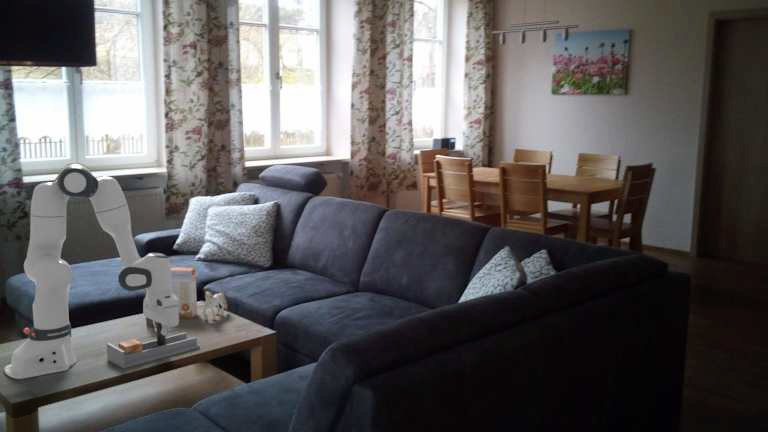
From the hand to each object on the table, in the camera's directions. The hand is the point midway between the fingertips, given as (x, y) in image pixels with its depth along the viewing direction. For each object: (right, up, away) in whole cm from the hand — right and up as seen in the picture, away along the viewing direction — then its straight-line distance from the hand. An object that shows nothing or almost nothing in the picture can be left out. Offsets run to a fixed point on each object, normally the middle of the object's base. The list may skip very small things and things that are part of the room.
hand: (161, 333), depth 258 cm
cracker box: (-6, 0, +44) cm, 45 cm away
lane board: (-2, -7, -1) cm, 8 cm away
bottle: (-13, -2, +32) cm, 34 cm away
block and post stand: (-5, -6, -4) cm, 9 cm away
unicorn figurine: (+12, -1, +40) cm, 42 cm away
